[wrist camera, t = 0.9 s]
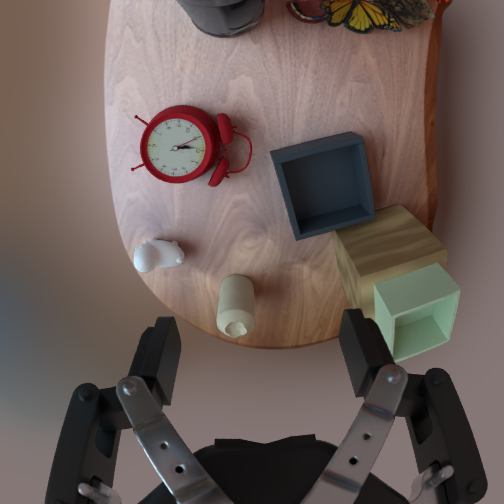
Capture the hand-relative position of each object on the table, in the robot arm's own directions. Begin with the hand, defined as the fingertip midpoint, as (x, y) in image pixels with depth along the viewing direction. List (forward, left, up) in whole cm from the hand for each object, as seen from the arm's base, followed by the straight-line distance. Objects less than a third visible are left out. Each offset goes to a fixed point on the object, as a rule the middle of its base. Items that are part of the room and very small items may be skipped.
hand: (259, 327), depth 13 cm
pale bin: (+17, +15, -15) cm, 28 cm away
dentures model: (-22, +14, -22) cm, 34 cm away
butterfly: (-20, +19, -27) cm, 39 cm away
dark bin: (+4, +9, -29) cm, 31 cm away
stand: (+17, +15, -29) cm, 37 cm away
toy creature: (+7, -17, -29) cm, 35 cm away
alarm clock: (-6, -6, -29) cm, 31 cm away
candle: (+18, -8, -29) cm, 36 cm away
